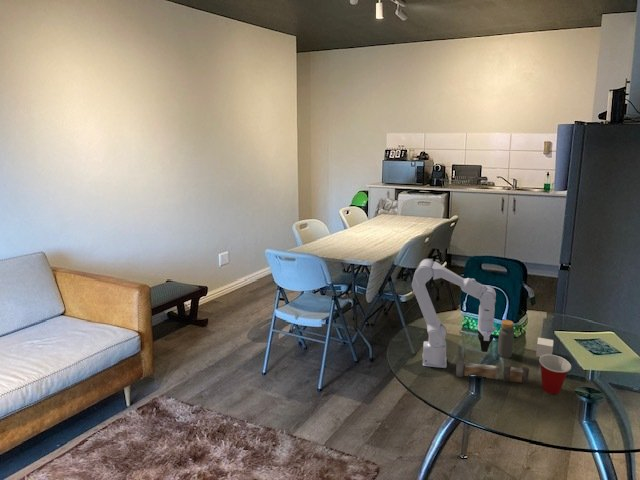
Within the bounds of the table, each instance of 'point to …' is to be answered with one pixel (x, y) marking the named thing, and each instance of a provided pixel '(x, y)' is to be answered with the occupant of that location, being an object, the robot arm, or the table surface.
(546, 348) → the white cube
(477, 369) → the gate
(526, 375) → the fence
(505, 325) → the bottle
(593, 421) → the table surface
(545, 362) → the plastic cup
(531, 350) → the table surface
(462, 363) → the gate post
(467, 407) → the table surface
